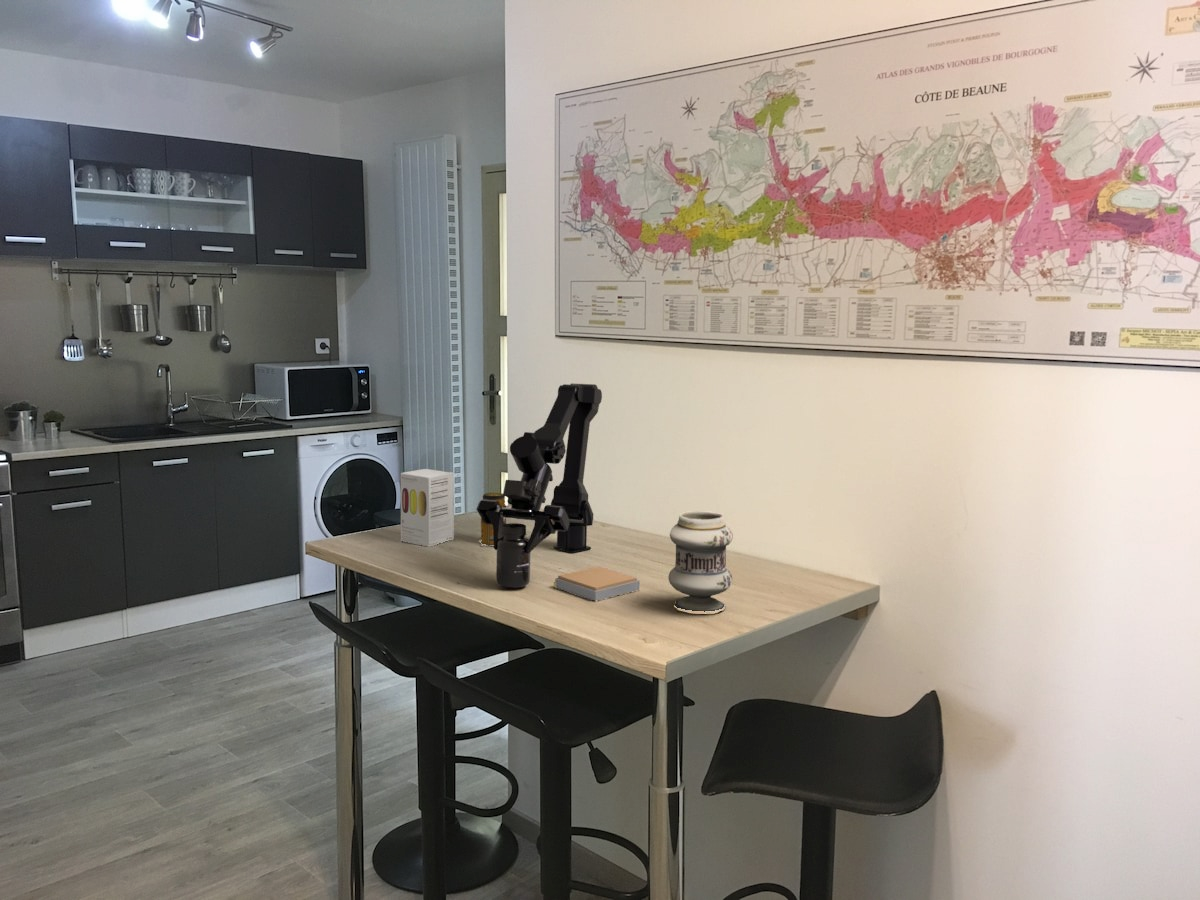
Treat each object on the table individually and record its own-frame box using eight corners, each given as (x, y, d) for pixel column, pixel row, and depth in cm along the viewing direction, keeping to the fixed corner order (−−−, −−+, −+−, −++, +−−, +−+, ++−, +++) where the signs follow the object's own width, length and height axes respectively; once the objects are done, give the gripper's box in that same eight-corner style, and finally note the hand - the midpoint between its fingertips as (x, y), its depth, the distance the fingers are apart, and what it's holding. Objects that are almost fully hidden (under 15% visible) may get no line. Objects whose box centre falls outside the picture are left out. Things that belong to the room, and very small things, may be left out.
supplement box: (399, 541, 225) (398, 472, 222) (425, 534, 232) (425, 467, 230) (429, 547, 220) (429, 476, 217) (455, 540, 227) (455, 471, 225)
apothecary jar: (668, 596, 184) (671, 506, 182) (729, 599, 183) (733, 509, 181) (666, 615, 172) (669, 519, 170) (732, 618, 171) (736, 522, 169)
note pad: (597, 577, 197) (597, 565, 197) (639, 590, 188) (639, 577, 188) (553, 587, 189) (553, 575, 188) (595, 601, 180) (595, 588, 179)
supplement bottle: (524, 589, 185) (525, 530, 183) (491, 586, 186) (492, 528, 184) (534, 579, 192) (534, 522, 190) (502, 577, 193) (502, 520, 191)
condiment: (477, 540, 228) (477, 491, 226) (512, 538, 230) (512, 490, 228) (481, 547, 221) (482, 497, 219) (517, 545, 223) (517, 496, 221)
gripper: (480, 460, 192) (455, 524, 183) (565, 467, 186) (543, 533, 177) (496, 491, 201) (473, 554, 192) (578, 498, 195) (558, 563, 186)
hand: (511, 550), depth 187 cm, fingers closed on supplement bottle, 7 cm apart
